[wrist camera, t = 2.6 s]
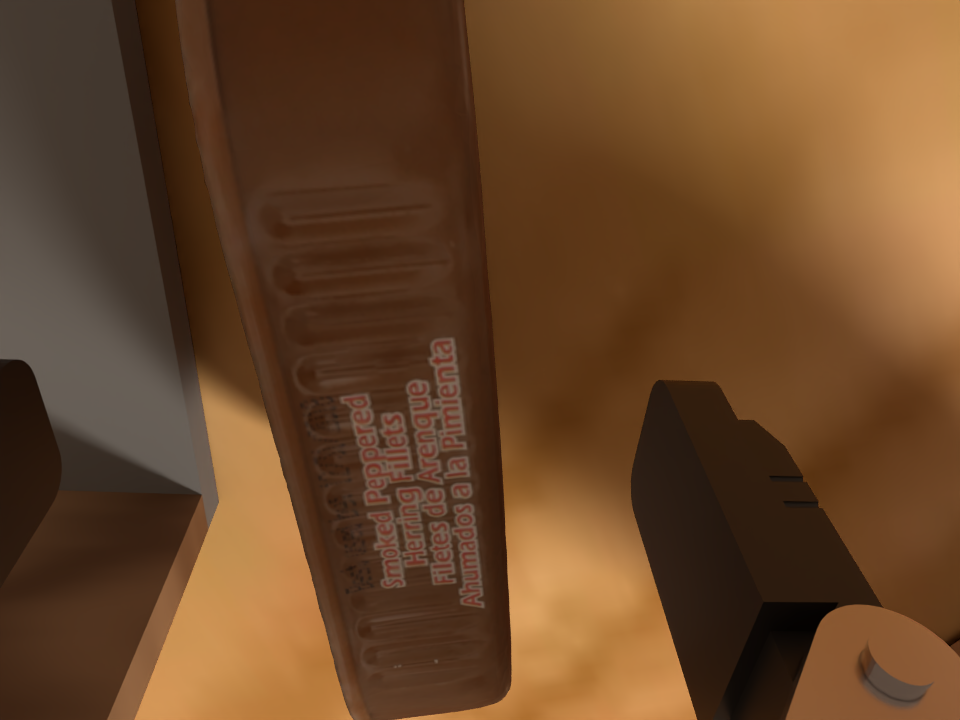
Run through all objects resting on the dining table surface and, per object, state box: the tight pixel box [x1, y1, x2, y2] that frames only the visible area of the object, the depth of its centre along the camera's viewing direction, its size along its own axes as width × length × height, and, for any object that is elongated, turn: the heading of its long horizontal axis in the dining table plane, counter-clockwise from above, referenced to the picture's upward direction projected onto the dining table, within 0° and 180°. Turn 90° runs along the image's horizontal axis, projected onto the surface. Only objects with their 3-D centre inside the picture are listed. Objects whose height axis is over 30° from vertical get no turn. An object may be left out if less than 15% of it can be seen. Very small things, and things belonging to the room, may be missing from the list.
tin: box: [175, 0, 511, 720], centre depth 12 cm, size 15×3×8 cm, turn 3°
